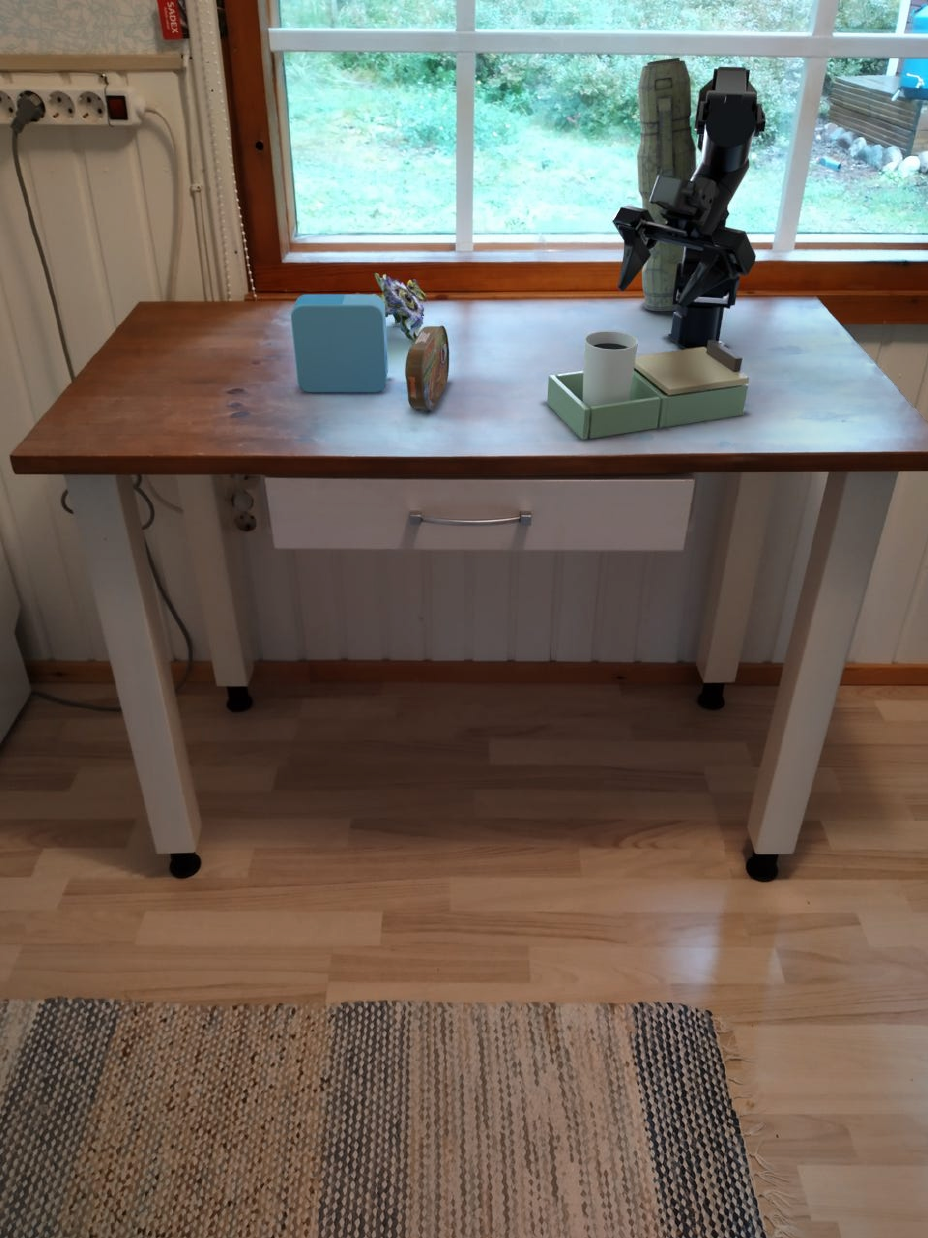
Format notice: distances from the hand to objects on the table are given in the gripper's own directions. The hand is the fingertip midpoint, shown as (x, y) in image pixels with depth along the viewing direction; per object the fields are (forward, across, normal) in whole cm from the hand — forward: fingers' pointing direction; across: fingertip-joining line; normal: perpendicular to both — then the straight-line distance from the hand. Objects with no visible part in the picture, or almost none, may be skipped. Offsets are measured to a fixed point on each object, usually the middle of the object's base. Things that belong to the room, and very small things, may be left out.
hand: (649, 297), depth 125 cm
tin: (+23, -20, -4) cm, 31 cm away
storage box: (+11, +3, +8) cm, 14 cm away
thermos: (-14, -18, +32) cm, 39 cm away
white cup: (+15, 0, +4) cm, 16 cm away
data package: (+28, -31, -8) cm, 42 cm away
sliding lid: (+5, +5, +8) cm, 11 cm away
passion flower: (+16, -41, +4) cm, 44 cm away
